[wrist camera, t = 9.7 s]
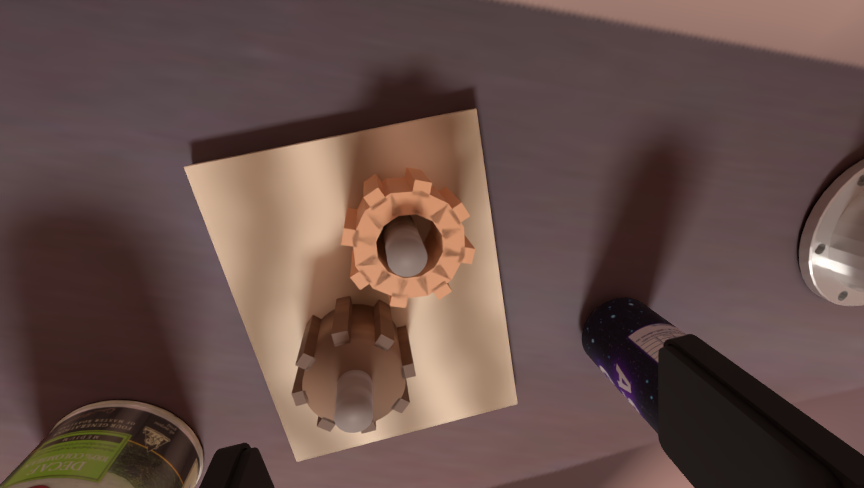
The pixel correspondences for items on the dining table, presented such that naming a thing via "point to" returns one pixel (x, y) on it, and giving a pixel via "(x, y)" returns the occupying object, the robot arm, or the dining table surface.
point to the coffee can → (113, 450)
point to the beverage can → (629, 350)
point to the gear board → (340, 297)
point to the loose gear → (441, 242)
